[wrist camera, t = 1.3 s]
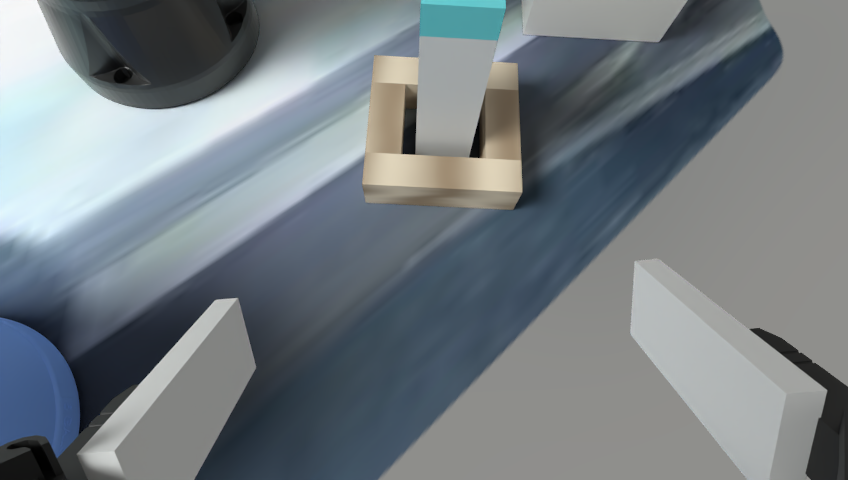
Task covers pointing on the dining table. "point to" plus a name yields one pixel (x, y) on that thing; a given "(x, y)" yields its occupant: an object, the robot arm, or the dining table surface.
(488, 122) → the beige flat square frame
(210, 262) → the dining table surface
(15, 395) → the water jug
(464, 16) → the plug
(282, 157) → the dining table surface
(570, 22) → the socket block
